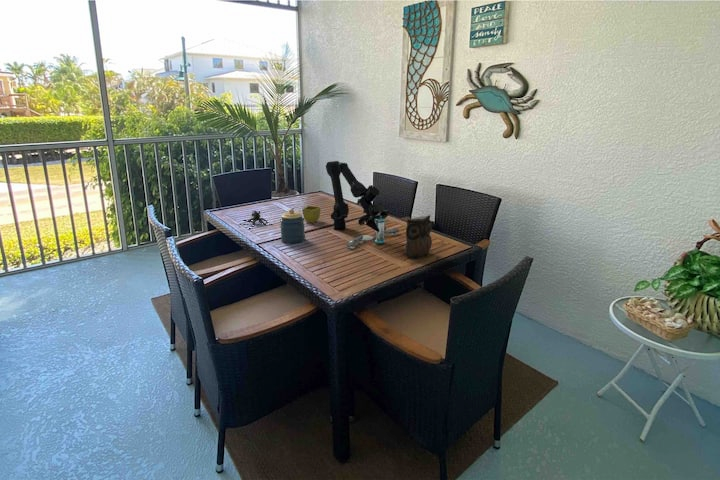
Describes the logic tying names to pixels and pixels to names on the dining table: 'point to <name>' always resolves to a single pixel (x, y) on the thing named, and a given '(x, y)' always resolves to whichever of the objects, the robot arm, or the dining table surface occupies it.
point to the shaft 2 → (390, 231)
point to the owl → (418, 237)
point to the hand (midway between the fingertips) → (382, 230)
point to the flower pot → (311, 213)
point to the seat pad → (367, 237)
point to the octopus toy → (256, 217)
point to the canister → (292, 227)
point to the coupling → (380, 230)
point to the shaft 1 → (357, 240)
